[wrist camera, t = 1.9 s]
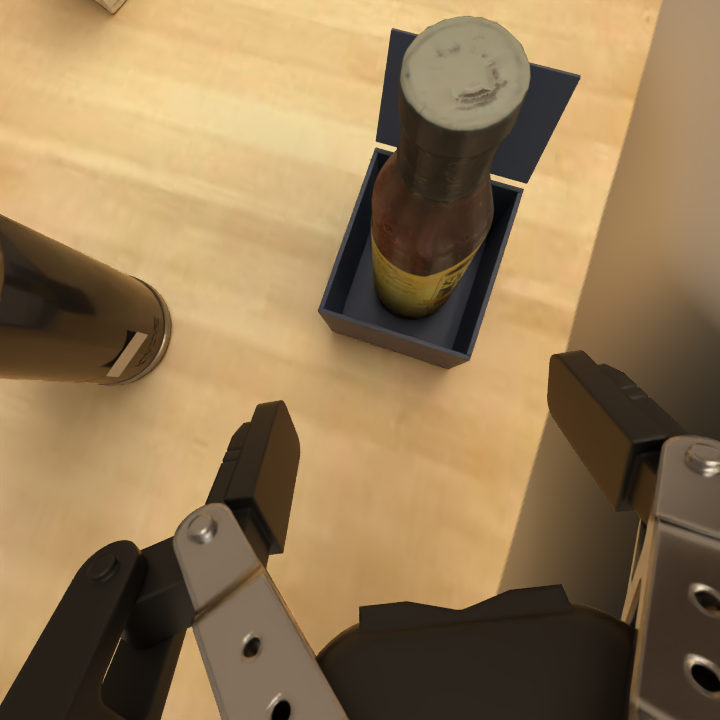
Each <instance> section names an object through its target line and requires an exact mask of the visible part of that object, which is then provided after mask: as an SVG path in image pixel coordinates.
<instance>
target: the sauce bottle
mask: <svg viewBox="0 0 720 720" xmlns="http://www.w3.org/2000/svg"><path fill="white" fill-rule="evenodd" d="M530 79H531V76H530V64H529V61H528V59H527V55H526V54H525V51H524V49H523V47H522V45H521V44H520V42H519V41H518V40H517V39H516V38H515V37H514V36H513V35H512V34H511V33H510V32H509V31H508V30H506V29H505V28H503V27H502V26H501V25H499V24H498V23H497V22H494V21H491V20H487V19H485V18H482V17H472V16H461V17H455V18H451V19H445V20H442V21H440V22H438V23H437V24H435V25H432V26H429V27H427V28H426V29H425V30H424V31H423V32H422V33H420V34H419V35H418V36H417V37H416V38H415V39H414V40H413V42H412V43H411V44H410V46H409V47H408V48H407V50H406V52H405V54H404V57H403V60H402V63H401V67H400V73H399V81H398V112H399V117H400V121H401V135H400V140H399V143H398V147H397V150H396V151H395V152H394V153H393V154H392V155H391V156H390V158H388V160H387V161H386V163H385V164H384V165H383V167H382V169H381V170H380V172H379V175H378V176H377V178H376V181H375V184H374V187H373V196H372V200H371V201H372V217H371V240H372V261H373V279H374V286H375V290H376V293H377V295H378V297H379V299H380V301H381V304H382V305H383V306H384V308H385V309H387V310H388V311H390V312H391V313H393V314H394V315H396V316H398V317H401V318H404V319H412V320H414V319H420V318H423V317H425V316H429V315H431V314H433V313H434V312H435V311H437V310H438V309H439V308H440V307H442V306H443V305H444V304H445V303H446V301H447V300H448V298H449V297H450V295H451V293H452V292H453V290H454V288H455V287H456V285H457V284H458V282H459V280H460V279H461V277H462V276H463V274H464V272H465V271H466V269H467V268H468V266H469V264H470V263H471V261H472V259H473V257H474V255H475V254H476V252H477V251H478V249H479V247H480V245H481V244H482V242H483V240H484V239H485V237H486V235H487V233H488V231H489V229H490V226H491V224H492V220H493V212H494V207H493V197H492V188H491V179H490V169H491V165H492V162H493V158H494V156H495V153H496V151H497V149H498V148H499V146H500V143H501V142H502V141H503V140H504V139H505V138H506V137H507V135H509V134H510V132H511V130H512V128H513V126H514V125H515V123H516V121H517V119H518V115H519V112H520V110H521V108H522V105H523V103H524V101H525V98H526V95H527V93H528V90H529V85H530Z"/></svg>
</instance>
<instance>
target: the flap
mask: <svg viewBox="0 0 720 720" xmlns="http://www.w3.org/2000/svg"><path fill="white" fill-rule="evenodd" d="M417 36H418V34H414V33H410V32H406V31H402V30H398V29H394V28H392V30H391V35H390V42H389V49H388V56H387V64H386V71H385V78H384V85H383V92H382V99H381V106H380V114H379V121H378V128H377V135H376V142H380V143H383V144H387V145H390V146H394V147H398V143H399V140H400V135H401V121H400V117H399V112H398V81H399V73H400V67H401V63H402V60H403V57H404V54H405V52H406V50H407V48H408V47H409V46H410V44H411V43H412V42H413V40H414V39H415V38H416V37H417ZM529 64H530V76H531V79H530V85H529V90H528V93H527V95H526V98H525V101H524V103H523V105H522V108H521V110H520V112H519V115H518V119H517V121H516V123H515V125H514V126H513V128H512V130H511V132H510V134H509V135H507V137H506V138H505V139H504V140H503V141H502V142H501V143H500V146H499V148H498V149H497V151H496V153H495V156H494V158H493V162H492V165H491V169H490V173H491V174H494V175H498V176H501V177H505V178H508V179H512V180H516V181H519V182H523V183H526V184H527V183H528V181H529V179H530V177H531V175H532V173H533V171H534V169H535V167H536V165H537V163H538V161H539V159H540V157H541V155H542V153H543V151H544V149H545V147H546V145H547V143H548V141H549V139H550V137H551V135H552V133H553V131H554V129H555V127H556V125H557V123H558V121H559V119H560V117H561V115H562V113H563V111H564V109H565V107H566V105H567V103H568V101H569V99H570V98H571V96H572V94H573V92H574V90H575V88H576V86H577V84H578V82H579V80H580V75H577V74H573V73H569V72H565V71H561V70H557V69H553V68H549V67H545V66H541V65H537V64H533V63H529Z"/></svg>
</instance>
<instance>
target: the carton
mask: <svg viewBox="0 0 720 720" xmlns="http://www.w3.org/2000/svg"><path fill="white" fill-rule="evenodd" d="M392 154H393V152H390V151H386V150H383V149H379V148H375V150H374V153H373V156H372V159H371V161H370V164H369V167H368V170H367V173H366V176H365V178H364V181H363V184H362V187H361V190H360V193H359V196H358V198H357V201H356V204H355V207H354V210H353V213H352V215H351V218H350V221H349V224H348V227H347V230H346V233H345V235H344V238H343V241H342V244H341V247H340V250H339V252H338V255H337V258H336V261H335V264H334V267H333V270H332V272H331V275H330V278H329V281H328V284H327V287H326V289H325V292H324V295H323V298H322V301H321V304H320V307H319V309H318V312H319V313H320V315H321V316H322V317H323V319H324V320H325V321H326V323H327V324H328V325H329V327H330V328H331V329H332V331H334V332H337V333H340V334H343V335H346V336H349V337H352V338H355V339H358V340H361V341H365V342H368V343H371V344H374V345H377V346H380V347H383V348H386V349H389V350H392V351H395V352H398V353H401V354H404V355H407V356H410V357H413V358H416V359H419V360H422V361H426V362H429V363H432V364H435V365H438V366H441V367H444V368H447V369H450V368H452V367H455V366H457V365H460V364H462V363H465V362H467V361H469V360H470V358H471V354H472V351H473V348H474V345H475V342H476V339H477V336H478V332H479V329H480V326H481V323H482V320H483V317H484V313H485V310H486V307H487V304H488V301H489V298H490V295H491V291H492V288H493V285H494V282H495V279H496V276H497V272H498V269H499V266H500V263H501V260H502V257H503V254H504V250H505V247H506V244H507V241H508V238H509V235H510V231H511V228H512V225H513V222H514V219H515V216H516V213H517V209H518V206H519V203H520V200H521V197H522V193H523V190H524V189H522V188H518V187H515V186H511V185H507V184H504V183H500V182H497V181H493V180H491V188H492V197H493V207H494V212H493V220H492V224H491V226H490V229H489V231H488V233H487V235H486V237H485V239H484V240H483V242H482V244H481V245H480V247H479V249H478V251H477V252H476V254H475V255H474V257H473V259H472V261H471V263H470V264H469V266H468V268H467V269H466V271H465V272H464V274H463V276H462V277H461V279H460V280H459V282H458V284H457V285H456V287H455V288H454V290H453V292H452V293H451V295H450V297H449V298H448V300H447V301H446V303H445V304H444V305H443V306H442V307H440V308H439V309H438V310H437V311H435V312H434V313H433V314H431V315H429V316H425V317H423V318H420V319H414V320H412V319H404V318H401V317H398V316H396V315H394V314H393V313H391V312H390V311H388V310H387V309H385V308H384V306H383V305H382V304H381V301H380V299H379V297H378V295H377V293H376V290H375V286H374V279H373V261H372V240H371V217H372V201H371V200H372V196H373V187H374V184H375V181H376V178H377V176H378V175H379V172H380V170H381V169H382V167H383V165H384V164H385V163H386V161H387V160H388V158H390V156H391V155H392Z"/></svg>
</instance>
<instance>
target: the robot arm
mask: <svg viewBox="0 0 720 720" xmlns="http://www.w3.org/2000/svg"><path fill="white" fill-rule="evenodd" d="M170 333H171V320H170V315H169V311H168V308H167V306H166V304H165V302H164V300H163V298H162V297H161V295H160V294H159V293H158V292H157V291H156V290H155V289H154V288H153V287H152V286H150V285H149V284H147V283H145V282H144V281H142V280H140V279H137V278H135V277H132V276H129V275H126V274H124V273H122V272H120V271H118V270H116V269H114V268H112V267H110V266H108V265H106V264H104V263H102V262H100V261H97V260H95V259H93V258H91V257H89V256H87V255H85V254H83V253H81V252H79V251H76V250H74V249H72V248H70V247H68V246H66V245H64V244H62V243H60V242H58V241H55V240H53V239H51V238H49V237H47V236H45V235H43V234H41V233H39V232H37V231H34V230H32V229H30V228H28V227H26V226H24V225H22V224H20V223H18V222H16V221H13V220H11V219H9V218H7V217H5V216H3V215H1V214H0V379H17V380H38V381H58V382H75V383H95V384H100V385H124V384H128V383H131V382H134V381H136V380H138V379H140V378H142V377H143V376H145V375H146V374H148V373H149V372H150V371H151V370H152V369H153V368H154V367H155V366H156V365H157V364H158V363H159V361H160V360H161V358H162V357H163V355H164V353H165V351H166V349H167V346H168V343H169V339H170ZM547 401H548V407H549V410H550V413H551V415H552V417H553V419H554V420H555V422H556V423H557V425H558V426H559V428H560V429H561V430H562V432H563V434H564V435H565V437H566V438H567V440H568V441H569V443H570V444H571V446H572V447H573V449H574V450H575V452H576V453H577V455H578V456H579V457H580V459H581V461H582V462H583V464H584V465H585V467H586V468H587V470H588V471H589V472H590V474H591V476H592V477H593V478H594V480H595V482H596V483H597V485H598V486H599V488H600V489H601V491H602V492H603V493H604V495H605V496H606V498H607V500H608V501H609V502H610V504H611V505H612V507H613V509H614V510H615V512H620V511H628V510H635V511H636V513H637V514H638V515H639V517H640V518H641V520H640V524H639V527H638V533H637V539H636V544H635V550H634V557H633V562H632V568H631V574H630V580H629V586H628V591H627V597H626V601H625V605H624V609H623V613H622V618H621V620H620V619H618V618H616V617H614V616H612V615H610V614H608V613H606V612H604V611H602V610H599V609H596V608H594V607H591V606H588V605H585V604H581V603H578V602H573V601H569V600H568V598H567V596H566V593H565V591H564V589H563V587H562V584H560V585H550V586H541V587H532V588H523V589H514V590H509V591H506V592H504V593H502V594H499V595H497V596H494V597H492V598H490V599H487V600H485V601H482V602H480V603H478V604H475V605H473V606H471V607H468V608H466V609H463V610H454V609H449V608H443V607H437V606H431V605H425V604H420V603H414V602H408V601H405V602H396V603H387V604H378V605H369V606H360V607H359V623H358V624H355V625H353V626H351V627H349V628H348V629H346V630H344V631H343V632H341V633H340V634H339V635H337V636H336V637H335V638H334V639H332V640H331V641H330V642H329V643H328V644H327V645H326V646H325V647H324V648H323V649H322V650H321V651H320V653H319V654H318V655H317V656H316V654H315V653H314V651H313V649H312V647H311V646H310V644H309V642H308V641H307V639H306V637H305V636H304V634H303V632H302V630H301V629H300V627H299V625H298V624H297V622H296V620H295V618H294V617H293V615H292V613H291V611H290V610H289V608H288V606H287V604H286V603H285V601H284V599H283V597H282V596H281V594H280V592H279V591H278V589H277V587H276V585H275V584H274V582H273V580H272V578H271V577H270V575H269V573H268V571H267V570H266V566H267V562H268V557H269V555H273V554H281V553H283V551H284V545H285V539H286V534H287V528H288V522H289V516H290V511H291V505H292V499H293V493H294V488H295V482H296V476H297V470H298V465H299V459H300V443H299V438H298V435H297V432H296V430H295V427H294V425H293V422H292V420H291V417H290V415H289V412H288V409H287V407H286V405H285V403H284V401H282V400H280V401H274V402H268V403H262V404H258V405H257V406H256V409H255V412H254V414H253V417H252V420H251V422H246V423H243V424H242V426H241V427H240V428H239V429H238V430H237V431H236V432H235V434H234V435H233V436H232V438H231V441H230V443H229V446H228V448H227V452H226V453H225V456H224V458H223V463H221V466H220V468H219V471H218V473H217V476H216V478H215V481H214V483H213V486H212V488H211V491H210V493H209V496H208V498H207V501H206V503H205V505H204V506H202V507H200V508H198V509H196V510H195V511H193V512H192V513H190V514H189V515H188V516H187V517H186V518H185V519H184V520H183V521H182V522H181V524H180V525H179V526H178V528H177V530H176V532H175V534H174V536H173V537H171V538H168V539H166V540H164V541H161V542H159V543H157V544H154V545H152V546H150V547H147V548H145V549H143V550H139V548H138V547H137V546H136V545H135V544H134V543H133V542H131V541H128V540H121V541H117V542H113V543H111V544H109V545H107V546H105V547H103V548H102V549H100V550H98V551H97V552H96V553H95V554H93V555H92V556H91V557H90V558H89V559H88V560H87V561H86V562H85V563H84V564H83V565H82V566H81V568H80V569H79V570H78V572H77V573H76V575H75V577H74V579H73V580H72V582H71V584H70V585H69V587H68V589H67V591H66V592H65V594H64V596H63V598H62V599H61V601H60V603H59V605H58V606H57V608H56V610H55V611H54V613H53V615H52V617H51V618H50V620H49V622H48V624H47V625H46V627H45V629H44V631H43V632H42V634H41V636H40V638H39V639H38V641H37V643H36V644H35V646H34V648H33V650H32V651H31V653H30V655H29V657H28V658H27V660H26V662H25V664H24V665H23V667H22V669H21V670H20V672H19V674H18V676H17V677H16V679H15V681H14V683H13V684H12V686H11V688H10V690H9V691H8V693H7V695H6V696H5V698H4V700H3V702H2V703H1V705H0V720H161V716H162V713H163V709H164V706H165V703H166V699H167V696H168V692H169V689H170V685H171V682H172V678H173V675H174V672H175V668H176V665H177V661H178V658H179V654H180V651H181V647H182V644H183V640H184V637H185V634H186V630H187V628H189V627H191V626H192V628H193V632H194V635H195V638H196V641H197V644H198V648H199V651H200V654H201V657H202V660H203V663H204V666H205V669H206V672H207V675H208V678H209V681H210V685H211V688H212V691H213V694H214V697H215V700H216V703H217V706H218V709H219V712H220V715H221V719H222V720H720V442H719V441H716V440H713V439H710V438H706V437H701V436H694V435H690V434H689V433H688V432H687V431H686V430H685V429H684V428H682V426H680V425H679V424H678V423H677V422H676V421H675V420H674V419H673V418H672V417H671V416H670V415H669V414H667V413H666V412H665V411H664V410H663V409H662V408H661V407H660V406H659V405H658V404H657V403H656V402H655V401H654V400H652V399H651V398H648V395H647V394H646V393H645V392H644V391H643V390H642V389H641V388H637V385H636V384H635V383H634V382H633V381H632V380H631V379H630V378H629V377H628V376H627V375H626V374H624V373H623V372H621V371H619V370H617V369H615V368H613V367H610V366H608V365H606V364H601V365H597V364H596V363H595V362H594V361H593V360H592V359H591V358H590V357H589V356H588V355H587V354H586V353H585V352H584V351H582V350H578V351H572V352H565V353H560V354H554V355H552V356H551V358H550V363H549V378H548V393H547ZM120 637H121V640H120ZM119 640H120V642H119ZM118 642H119V645H118V647H117V644H118ZM116 647H117V650H116V652H115V649H116ZM114 652H115V654H114ZM113 654H114V657H113V659H112V656H113ZM111 659H112V662H111V664H110V661H111ZM109 664H110V667H109V669H108V671H107V668H108V666H109ZM106 671H107V674H106V676H105V673H106ZM104 676H105V679H104ZM103 679H104V681H103ZM102 682H103V683H102Z"/></svg>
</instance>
